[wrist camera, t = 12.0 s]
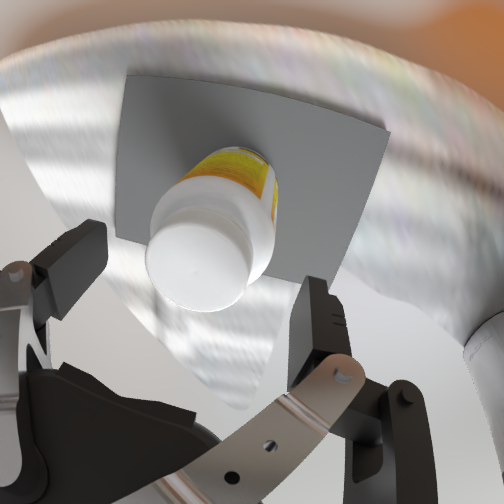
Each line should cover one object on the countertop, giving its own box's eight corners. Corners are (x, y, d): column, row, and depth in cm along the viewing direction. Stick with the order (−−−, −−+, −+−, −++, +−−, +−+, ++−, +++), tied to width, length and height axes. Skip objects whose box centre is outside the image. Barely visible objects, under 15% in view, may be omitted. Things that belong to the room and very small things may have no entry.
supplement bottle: (183, 166, 19) (99, 234, 10) (257, 131, 17) (226, 169, 8) (219, 234, 21) (174, 337, 12) (291, 207, 19) (294, 309, 11)
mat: (386, 130, 16) (390, 132, 16) (327, 284, 23) (328, 290, 22) (132, 75, 16) (127, 75, 15) (120, 232, 23) (115, 236, 22)
